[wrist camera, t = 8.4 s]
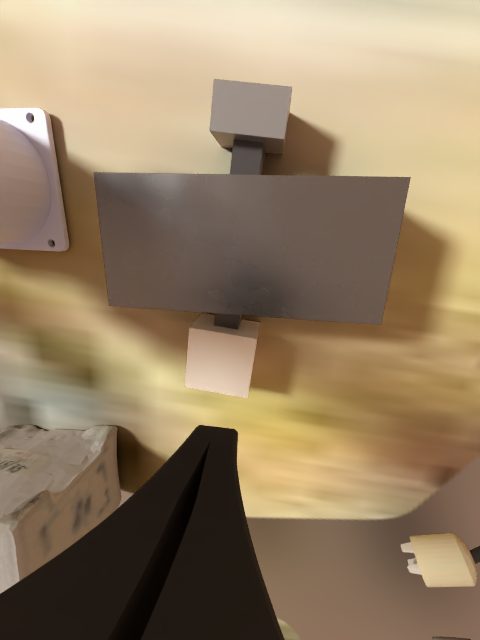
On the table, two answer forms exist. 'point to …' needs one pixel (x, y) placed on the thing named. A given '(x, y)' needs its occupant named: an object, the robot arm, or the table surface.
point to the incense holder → (52, 492)
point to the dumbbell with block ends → (247, 159)
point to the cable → (442, 562)
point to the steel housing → (251, 243)
